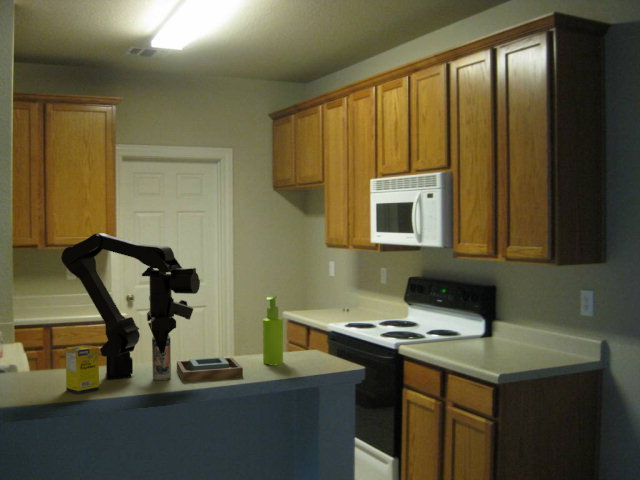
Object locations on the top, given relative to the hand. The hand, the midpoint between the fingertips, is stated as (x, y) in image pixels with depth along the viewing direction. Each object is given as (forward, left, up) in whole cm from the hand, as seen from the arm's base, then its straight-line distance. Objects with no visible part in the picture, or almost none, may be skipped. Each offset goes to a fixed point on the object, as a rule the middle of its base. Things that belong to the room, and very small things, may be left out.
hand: (161, 350), depth 184 cm
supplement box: (-20, -6, -8) cm, 22 cm away
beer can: (0, 0, -8) cm, 8 cm away
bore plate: (+13, +2, -8) cm, 15 cm away
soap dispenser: (+33, +9, -8) cm, 35 cm away
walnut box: (+13, +2, -8) cm, 15 cm away
